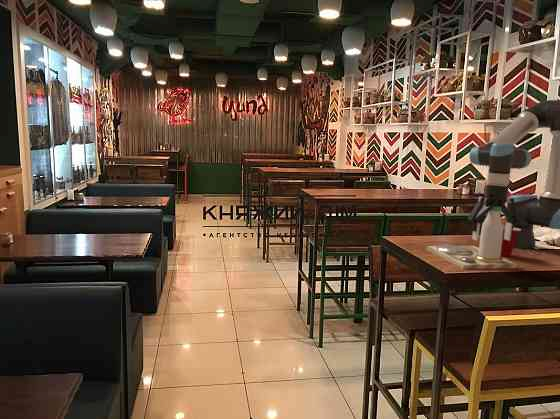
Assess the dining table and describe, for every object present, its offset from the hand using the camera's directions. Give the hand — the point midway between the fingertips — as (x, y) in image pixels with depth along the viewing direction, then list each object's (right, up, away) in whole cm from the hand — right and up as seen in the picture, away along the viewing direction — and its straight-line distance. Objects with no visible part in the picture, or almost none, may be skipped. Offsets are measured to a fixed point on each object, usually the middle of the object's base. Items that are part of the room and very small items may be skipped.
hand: (491, 239), depth 181 cm
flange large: (-10, -5, +13) cm, 17 cm away
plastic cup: (+12, -7, +16) cm, 21 cm away
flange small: (-10, -8, -3) cm, 13 cm away
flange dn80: (0, -8, +1) cm, 8 cm away
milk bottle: (0, -7, +1) cm, 7 cm away
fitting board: (-6, -8, +8) cm, 12 cm away
